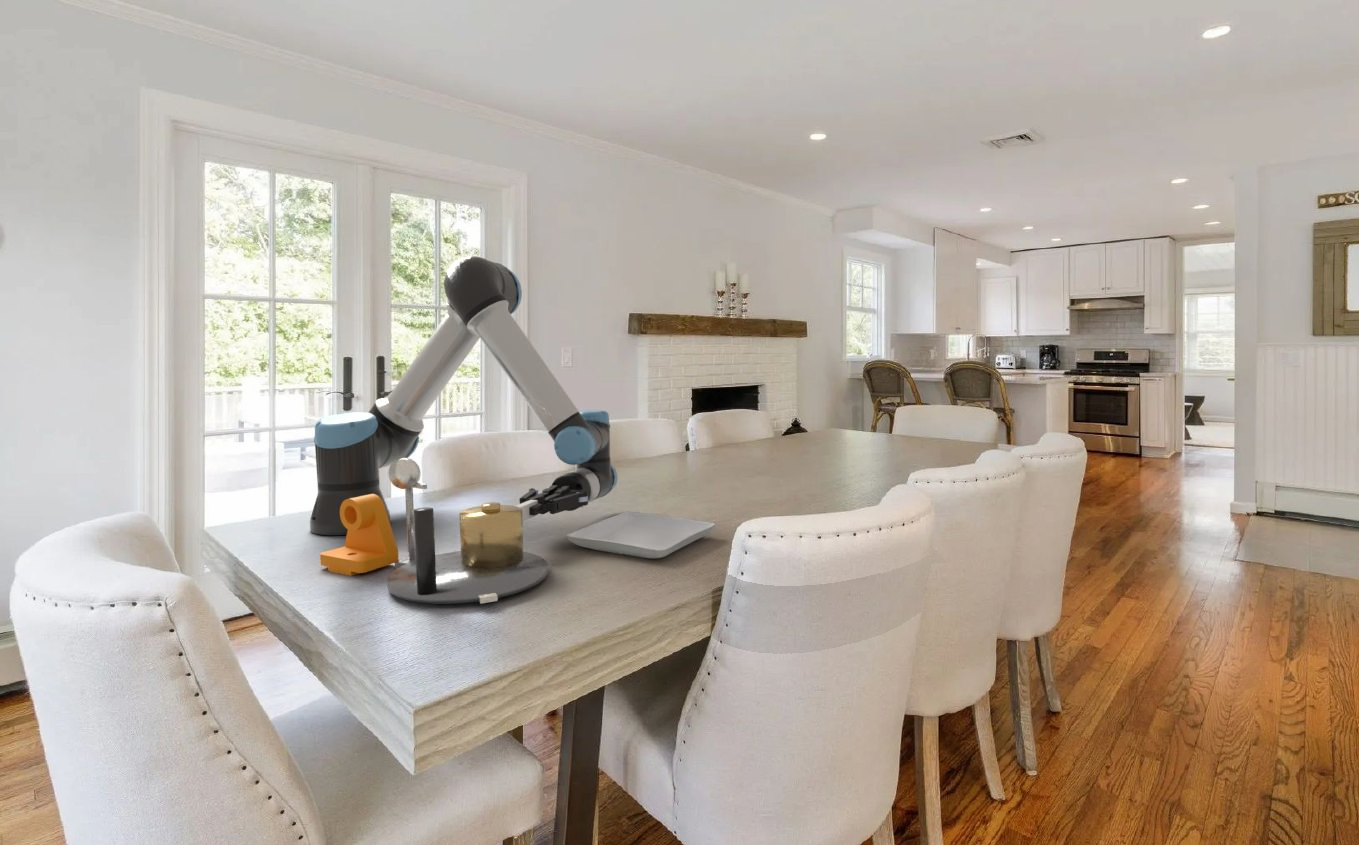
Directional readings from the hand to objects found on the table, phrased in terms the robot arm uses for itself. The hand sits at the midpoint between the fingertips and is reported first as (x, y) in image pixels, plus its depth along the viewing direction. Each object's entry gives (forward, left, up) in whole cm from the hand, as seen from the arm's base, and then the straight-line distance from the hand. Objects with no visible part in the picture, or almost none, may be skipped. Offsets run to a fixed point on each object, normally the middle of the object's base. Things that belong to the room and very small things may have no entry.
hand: (516, 515), depth 121 cm
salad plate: (+20, +12, -8) cm, 25 cm away
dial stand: (-16, -6, -8) cm, 19 cm away
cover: (-2, -7, -6) cm, 9 cm away
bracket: (-25, -8, -8) cm, 27 cm away
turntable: (-3, -13, -8) cm, 16 cm away
